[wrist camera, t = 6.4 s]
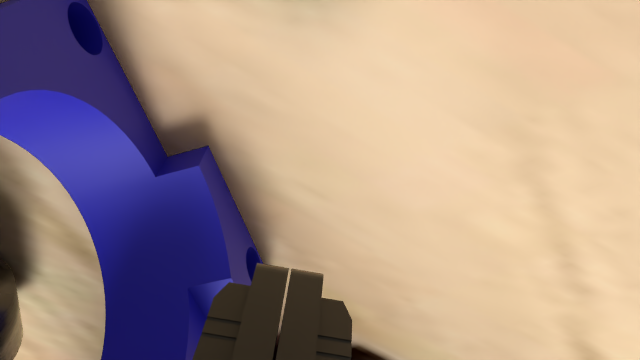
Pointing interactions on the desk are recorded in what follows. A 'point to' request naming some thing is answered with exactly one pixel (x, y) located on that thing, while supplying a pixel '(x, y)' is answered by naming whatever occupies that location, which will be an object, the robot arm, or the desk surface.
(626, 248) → the desk surface
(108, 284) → the cable clip
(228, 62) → the desk surface
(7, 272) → the trolley
